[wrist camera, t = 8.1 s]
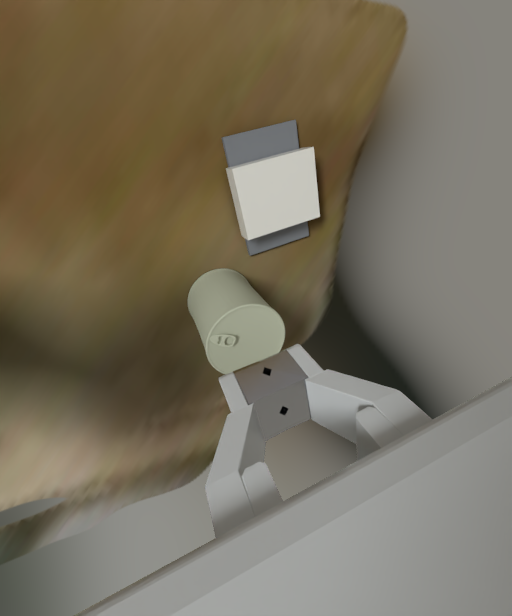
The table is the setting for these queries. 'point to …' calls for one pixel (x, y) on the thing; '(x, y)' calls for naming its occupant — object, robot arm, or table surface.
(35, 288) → the table surface
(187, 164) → the table surface
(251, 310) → the pale green cylinder
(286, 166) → the white box
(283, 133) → the mat
